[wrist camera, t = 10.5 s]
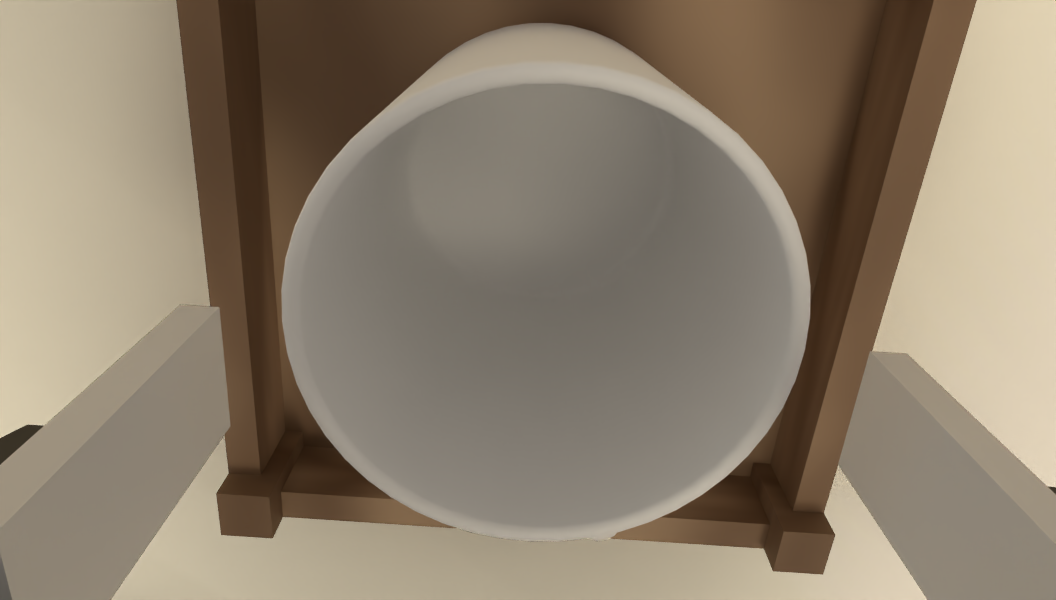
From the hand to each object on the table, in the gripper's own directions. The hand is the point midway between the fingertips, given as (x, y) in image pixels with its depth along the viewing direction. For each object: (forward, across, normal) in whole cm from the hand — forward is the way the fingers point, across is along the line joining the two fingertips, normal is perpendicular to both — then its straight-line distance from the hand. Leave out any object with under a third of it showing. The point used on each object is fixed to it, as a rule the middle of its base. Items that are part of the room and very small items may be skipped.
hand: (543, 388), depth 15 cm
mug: (+9, 0, +1) cm, 9 cm away
